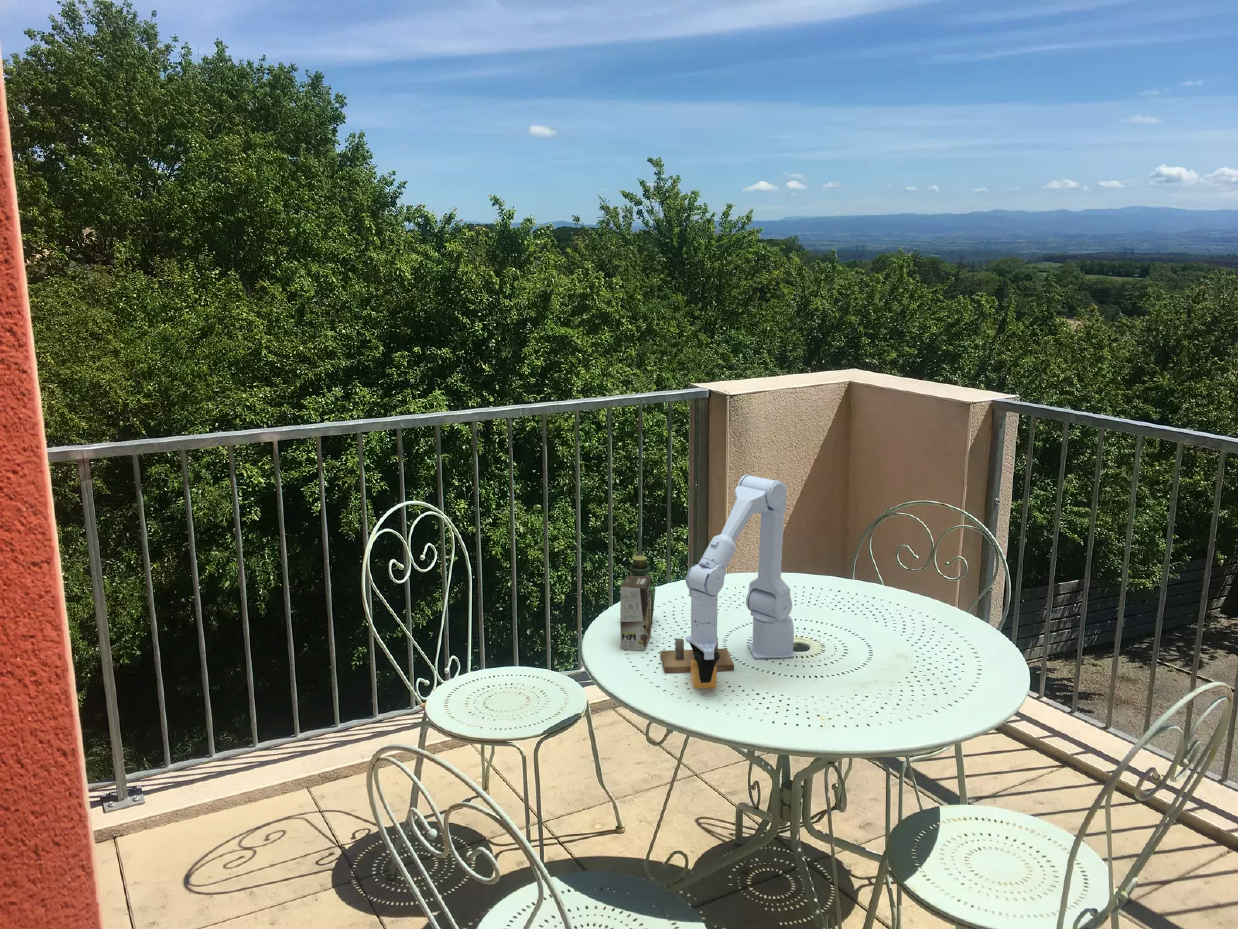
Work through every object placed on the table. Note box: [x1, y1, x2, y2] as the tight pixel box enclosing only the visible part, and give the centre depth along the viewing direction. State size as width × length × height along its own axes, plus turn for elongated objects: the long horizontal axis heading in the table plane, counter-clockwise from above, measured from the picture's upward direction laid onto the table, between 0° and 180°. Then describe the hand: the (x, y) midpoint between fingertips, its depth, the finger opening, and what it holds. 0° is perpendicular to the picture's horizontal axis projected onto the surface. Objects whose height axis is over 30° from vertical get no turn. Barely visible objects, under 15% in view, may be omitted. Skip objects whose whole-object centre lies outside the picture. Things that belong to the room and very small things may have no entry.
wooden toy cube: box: [690, 660, 718, 689], centre depth 196 cm, size 5×5×4 cm
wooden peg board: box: [659, 638, 735, 674], centre depth 206 cm, size 16×9×6 cm, turn 94°
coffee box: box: [619, 574, 652, 652], centre depth 217 cm, size 9×6×16 cm
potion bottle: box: [628, 555, 656, 626], centre depth 228 cm, size 8×8×18 cm
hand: (703, 676), depth 197 cm, fingers closed on wooden toy cube, 5 cm apart
